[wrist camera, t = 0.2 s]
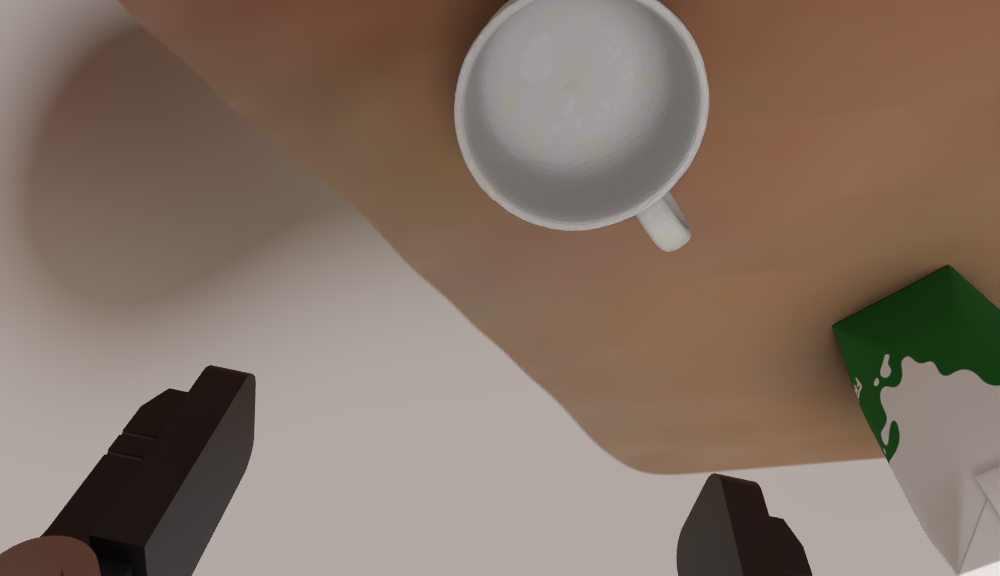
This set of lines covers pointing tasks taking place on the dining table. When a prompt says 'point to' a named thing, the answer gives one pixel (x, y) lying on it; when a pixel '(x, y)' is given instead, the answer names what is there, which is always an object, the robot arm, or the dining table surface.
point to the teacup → (584, 113)
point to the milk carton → (936, 408)
